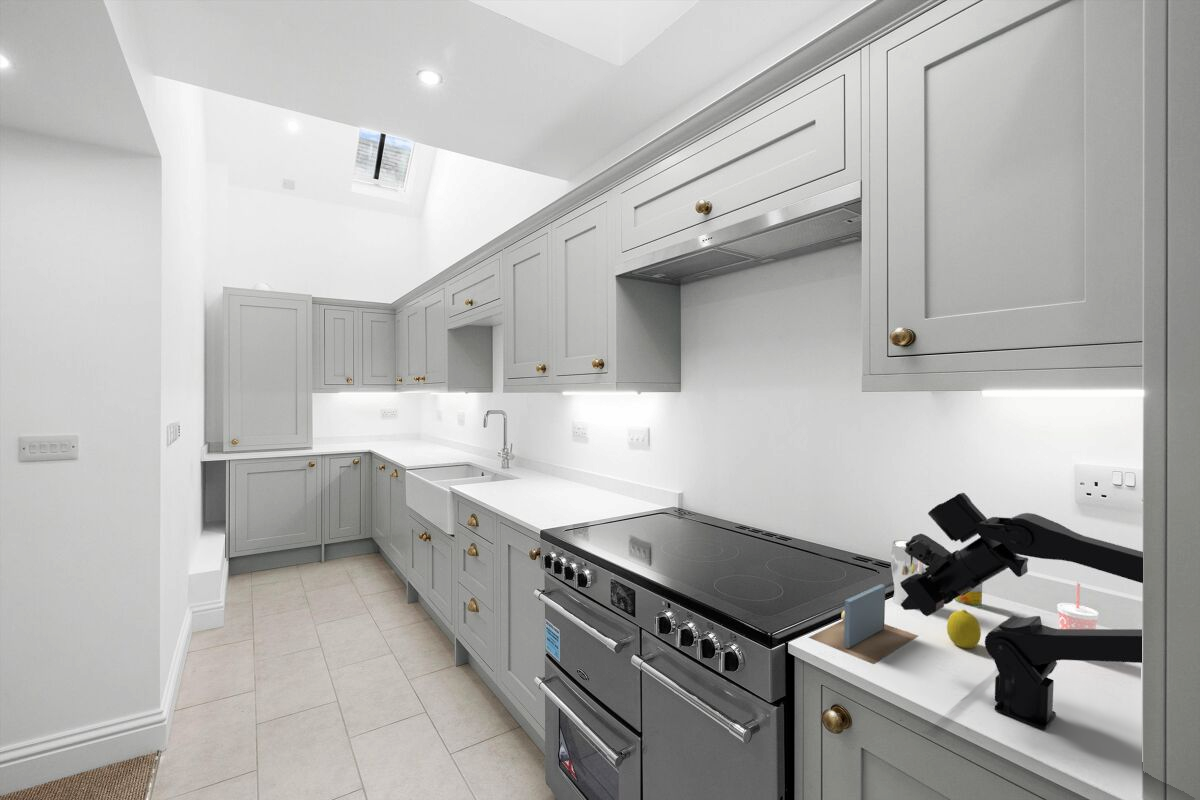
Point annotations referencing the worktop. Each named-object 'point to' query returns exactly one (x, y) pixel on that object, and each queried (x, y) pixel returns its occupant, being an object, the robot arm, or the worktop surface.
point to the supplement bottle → (972, 597)
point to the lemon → (963, 629)
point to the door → (864, 615)
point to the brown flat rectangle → (866, 642)
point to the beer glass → (903, 569)
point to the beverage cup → (1076, 615)
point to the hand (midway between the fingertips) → (903, 606)
